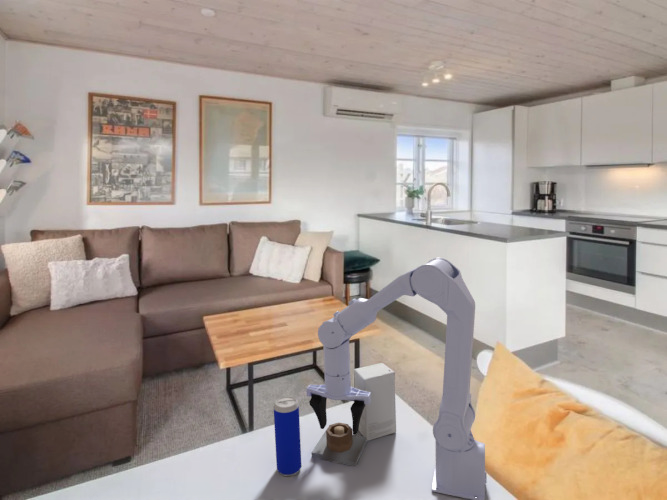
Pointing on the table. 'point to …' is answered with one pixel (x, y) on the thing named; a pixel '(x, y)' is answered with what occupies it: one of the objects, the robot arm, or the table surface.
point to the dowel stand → (344, 457)
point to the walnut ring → (339, 438)
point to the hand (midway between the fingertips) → (339, 429)
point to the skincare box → (377, 400)
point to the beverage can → (287, 435)
